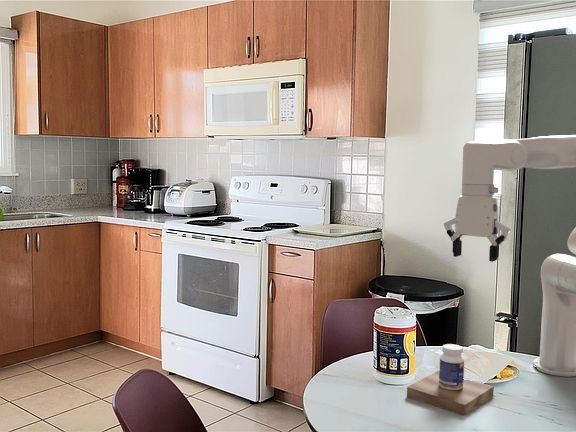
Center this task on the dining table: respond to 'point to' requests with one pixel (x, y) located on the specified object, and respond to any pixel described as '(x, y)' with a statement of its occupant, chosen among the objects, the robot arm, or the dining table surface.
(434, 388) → the walnut board
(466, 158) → the robot arm
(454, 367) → the pill bottle
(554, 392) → the dining table surface
